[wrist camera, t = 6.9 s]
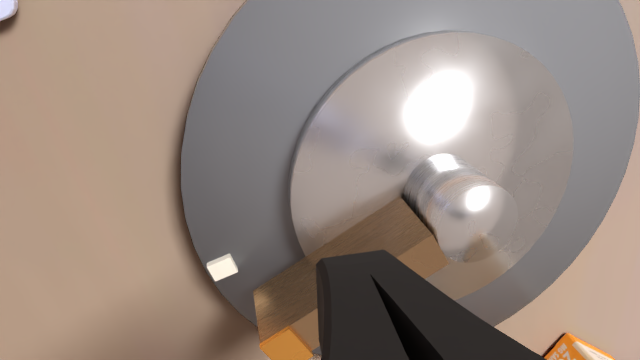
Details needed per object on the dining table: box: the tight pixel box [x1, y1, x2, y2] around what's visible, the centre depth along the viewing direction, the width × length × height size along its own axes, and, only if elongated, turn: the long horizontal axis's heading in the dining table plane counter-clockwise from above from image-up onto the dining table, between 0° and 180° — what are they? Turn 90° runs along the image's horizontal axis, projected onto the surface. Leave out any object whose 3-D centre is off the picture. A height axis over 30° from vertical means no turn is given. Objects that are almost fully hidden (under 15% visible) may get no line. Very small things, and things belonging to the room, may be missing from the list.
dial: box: [253, 30, 574, 360], centre depth 17 cm, size 14×12×4 cm
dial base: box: [181, 0, 640, 355], centre depth 19 cm, size 20×20×1 cm
